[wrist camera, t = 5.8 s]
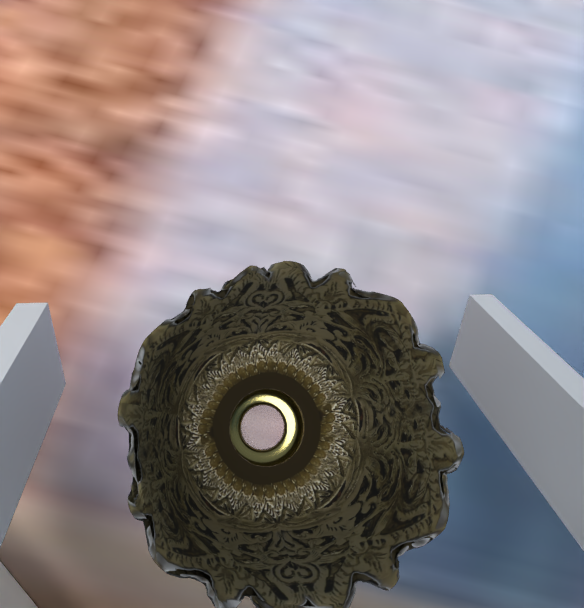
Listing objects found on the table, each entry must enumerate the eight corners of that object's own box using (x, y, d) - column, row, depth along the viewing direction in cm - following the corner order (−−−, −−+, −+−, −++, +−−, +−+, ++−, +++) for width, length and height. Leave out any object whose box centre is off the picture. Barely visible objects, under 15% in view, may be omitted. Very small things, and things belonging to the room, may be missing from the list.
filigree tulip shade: (156, 337, 18) (112, 267, 10) (342, 322, 19) (428, 250, 11) (165, 552, 16) (120, 664, 8) (371, 518, 17) (495, 588, 10)
